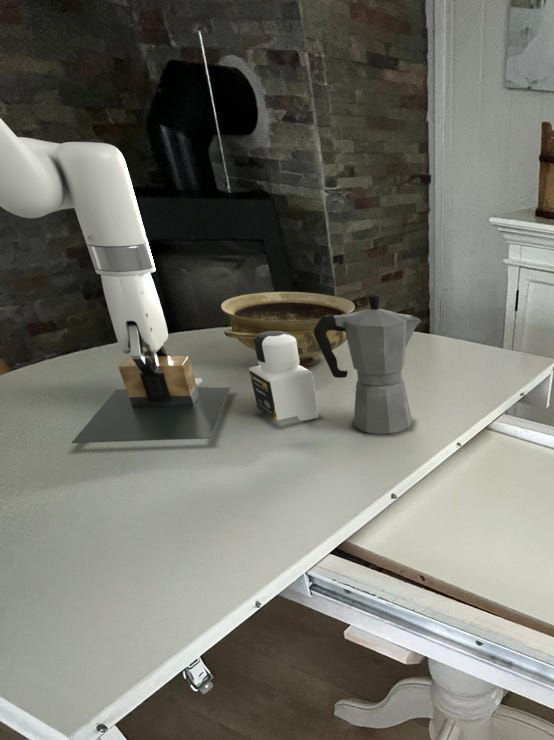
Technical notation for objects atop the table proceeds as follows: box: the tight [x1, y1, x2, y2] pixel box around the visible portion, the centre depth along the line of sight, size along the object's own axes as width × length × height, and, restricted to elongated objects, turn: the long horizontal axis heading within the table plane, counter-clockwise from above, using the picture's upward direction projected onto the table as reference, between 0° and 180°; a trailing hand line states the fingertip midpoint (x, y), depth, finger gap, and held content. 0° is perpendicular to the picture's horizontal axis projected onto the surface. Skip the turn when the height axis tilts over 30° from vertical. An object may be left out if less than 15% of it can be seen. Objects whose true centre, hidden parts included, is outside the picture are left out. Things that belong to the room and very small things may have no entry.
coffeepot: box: [314, 293, 422, 435], centre depth 87 cm, size 15×9×18 cm, turn 110°
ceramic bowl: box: [220, 291, 356, 367], centre depth 113 cm, size 30×24×10 cm
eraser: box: [118, 355, 199, 407], centre depth 92 cm, size 9×5×6 cm, turn 101°
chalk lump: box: [194, 377, 203, 387], centre depth 101 cm, size 2×2×2 cm
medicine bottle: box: [248, 331, 319, 422], centre depth 90 cm, size 7×7×12 cm
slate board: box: [71, 386, 231, 444], centre depth 90 cm, size 18×22×1 cm
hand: (163, 393), depth 93 cm, fingers closed on eraser, 5 cm apart
